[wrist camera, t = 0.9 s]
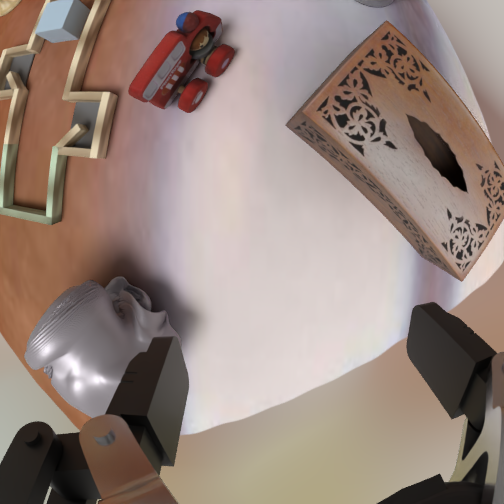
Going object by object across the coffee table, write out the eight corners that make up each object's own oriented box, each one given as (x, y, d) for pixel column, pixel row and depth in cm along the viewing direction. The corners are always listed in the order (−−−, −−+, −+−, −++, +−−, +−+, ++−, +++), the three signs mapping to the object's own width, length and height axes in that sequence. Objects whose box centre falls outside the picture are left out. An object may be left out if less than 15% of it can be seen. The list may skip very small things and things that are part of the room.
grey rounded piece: (122, 385, 44) (115, 457, 31) (35, 330, 37) (2, 396, 23) (194, 312, 42) (204, 389, 28) (93, 236, 34) (51, 294, 21)
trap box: (31, 6, 24) (23, 1, 21) (154, -14, 26) (150, -22, 23) (-14, 206, 33) (-24, 208, 30) (97, 228, 35) (88, 232, 33)
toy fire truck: (244, 46, 30) (246, 6, 20) (184, 127, 32) (162, 113, 22) (197, 22, 28) (184, -20, 18) (138, 100, 31) (103, 81, 21)
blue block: (63, 14, 26) (47, 2, 21) (90, 10, 26) (75, -4, 21) (52, 43, 27) (34, 33, 22) (79, 39, 27) (61, 28, 23)
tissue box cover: (285, 125, 33) (301, 111, 23) (353, 49, 30) (386, 20, 20) (420, 256, 38) (461, 281, 28) (471, 183, 35) (517, 192, 26)
